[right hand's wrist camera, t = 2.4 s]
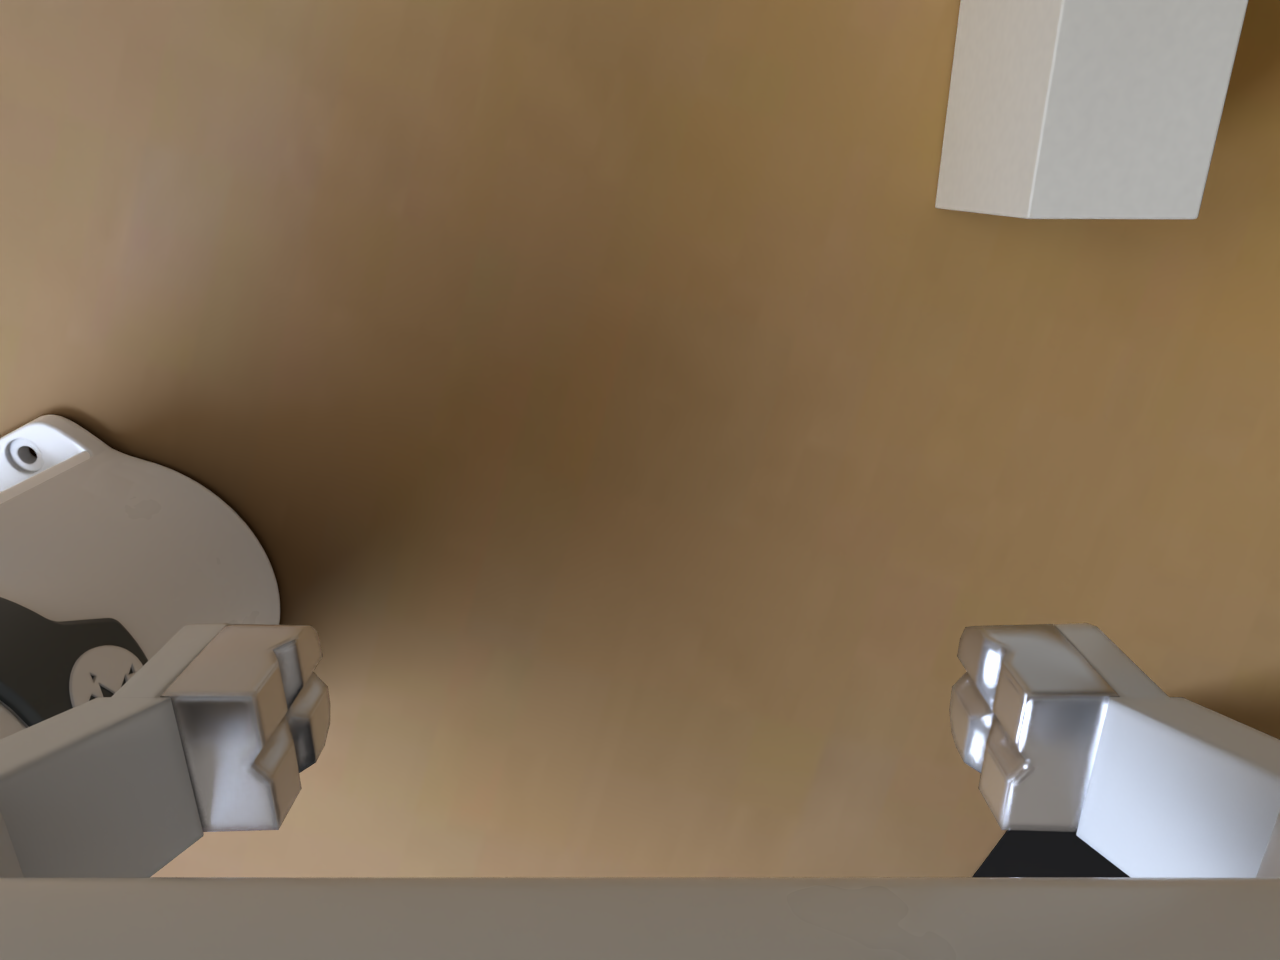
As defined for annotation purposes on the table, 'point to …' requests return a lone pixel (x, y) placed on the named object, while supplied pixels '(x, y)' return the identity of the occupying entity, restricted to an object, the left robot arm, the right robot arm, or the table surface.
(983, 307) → the table surface
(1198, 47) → the bar
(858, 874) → the table surface
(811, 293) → the table surface
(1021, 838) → the cardboard box
